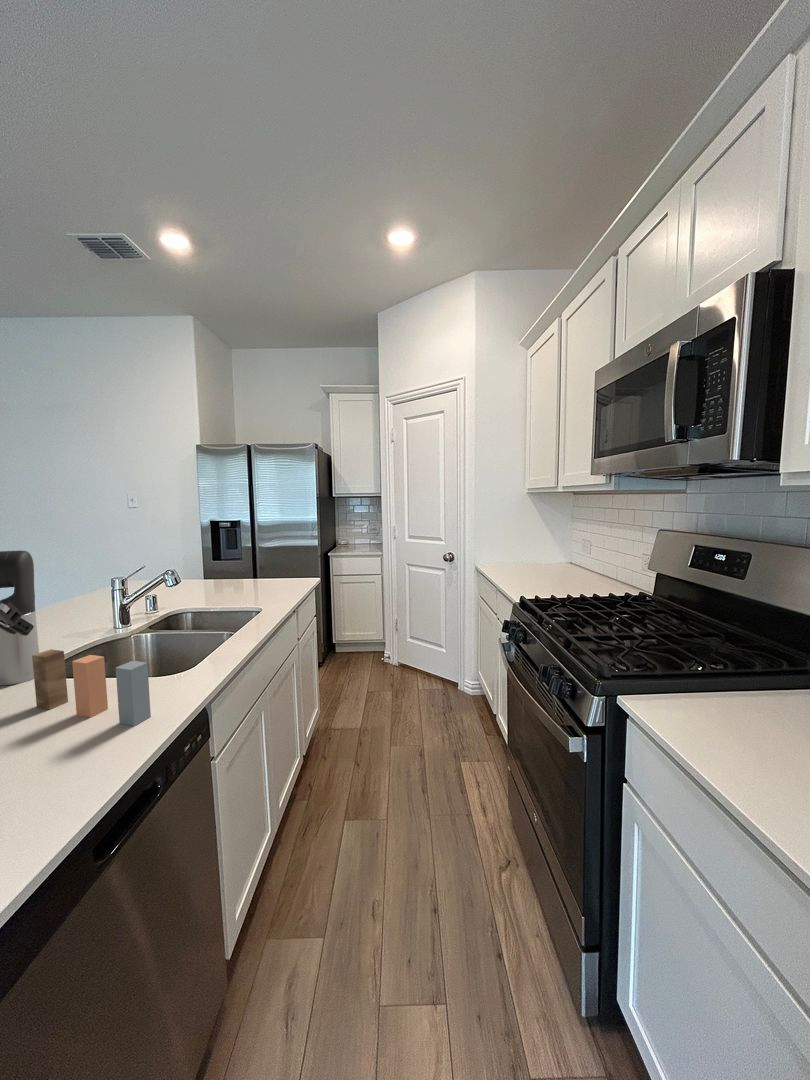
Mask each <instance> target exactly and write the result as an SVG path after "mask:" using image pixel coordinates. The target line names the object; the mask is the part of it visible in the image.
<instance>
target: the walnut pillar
mask: <svg viewBox="0 0 810 1080" xmlns="http://www.w3.org/2000/svg"><path fill="white" fill-rule="evenodd" d="M32 661H33V672H34V679H33V680H34V681H33V682H34V692H35V703H36V708H38V709H44V710H49V711H50V710H53V709H55V708H57V707H59V706H61V705H63V704H66V703H68V702H69V697H68V696H69V694H68V685H67V673H66V660H65V651H64V650H59V649H58V650H57V649H53V648H52V649H51V648H50V649H47V650H44V651H42V652H39V653H38V654H35V655H32Z"/></svg>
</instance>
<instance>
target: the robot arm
mask: <svg viewBox="0 0 810 1080" xmlns="http://www.w3.org/2000/svg"><path fill="white" fill-rule="evenodd" d="M6 588H13V593H12V594H11V595H10V596H7V597H5V598H2V599H0V686H11V685H16V684H22V683H25V682H28V681H32V680H34V672H33V661H32V655H35V654H38V653H40V647H39V646H40V645H39V635H38V625H37V616H36V605H35V604H36V595H35V594H36V593H35V592H36V590H35V565H34V559H33V556H32V555H31V553H30V552H29V551H27V550H3V551H2V550H1V551H0V589H6Z"/></svg>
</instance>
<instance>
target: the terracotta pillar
mask: <svg viewBox="0 0 810 1080" xmlns="http://www.w3.org/2000/svg"><path fill="white" fill-rule="evenodd" d="M72 674H73V686H74V696H75V697H74V700H75V701H74V702H75V712H76V715H77V716H81V717H85V718H93V717H94V716H97V715H100V714H101V713H103V712H106V711H107V710H109V705H108V692H107V679H106V677H107V676H106V663H105V656H101V655H94V654H89V655H86V656H83V657H80V658H77V659H75V660H73V661H72Z"/></svg>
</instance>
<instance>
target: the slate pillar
mask: <svg viewBox="0 0 810 1080" xmlns="http://www.w3.org/2000/svg"><path fill="white" fill-rule="evenodd" d="M148 665H149V664H148V662H145V661H138V660H131V661H129V662H126V663H124V664H121V665H118V666H115V678H116V680H115V681H116V690H117V702H118V703H117V704H118V705H117V708H118V718H119V719H118V722H119V724H122V725H126V726H132V727H135V726H137V725H139V724H141V723H143V722H145V721H146V720H148V719H150V718H151V717H152V715H151V714H152V713H151V699H150V683H149V682H150V681H149V668H148V667H149V666H148Z"/></svg>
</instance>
